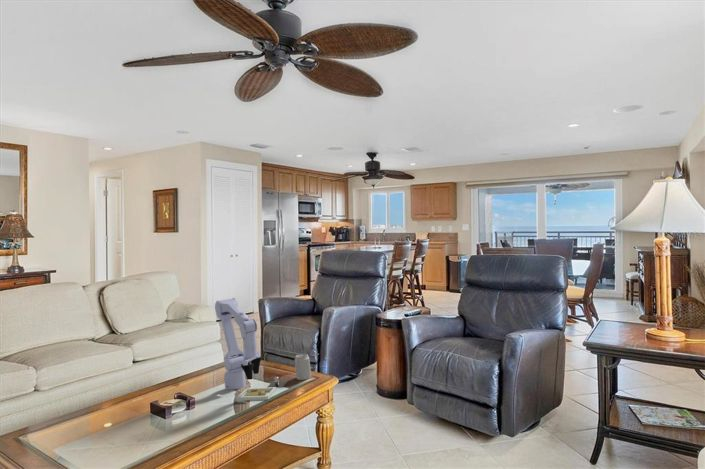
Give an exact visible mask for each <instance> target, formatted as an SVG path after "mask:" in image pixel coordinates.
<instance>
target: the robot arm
mask: <svg viewBox="0 0 705 469" xmlns="http://www.w3.org/2000/svg"><path fill="white" fill-rule="evenodd" d="M214 309H215V314H216V317H217V319H219V320H220V322H221V327H222V330H223V333H224V338H225V343H226V347H227V352H226V354H225V355H224V358H223V360H224V364H223V365H224V369H225V370H226V371H225V372H224V376H223V379H224V380H223V381H224V389H225V390H239V389H243V388H245V387H246V385H247V383H246V379H247V380H252V379H253V375H258V374H259V372H260V366H261V362H262V359H263V358H262V356H261V355H260V352H259V351H258V348H257V347H258V346H257V338H256V332H257V330H258V325H257V322H256V320H255V319H252V318H250V317H249V316H248V315H247V314H246V313H245V312H243V311H241V310H240V309H239V306H238V301H237V298H236V297H232V298H227V299H223V300H222V299H220V300H216V301H215V303H214ZM232 317H234V318H233V320H234V322H235V323H236V324H237V325H238V327H239V331H240V335H241V338H242V343H243V350H242V349H240V348H239V346H238V341H237V338H236V333H235V330H234V325H233V322H232V321H233V320H232Z"/></svg>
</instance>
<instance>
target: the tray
mask: <svg viewBox="0 0 705 469" xmlns="http://www.w3.org/2000/svg"><path fill="white" fill-rule="evenodd" d="M260 388H262V390H266V392H268V393H267V394H266V395H264V396H247V394H246V393H247V392H248V391H249V390H250V389H260ZM277 390H278V388H276V387H269V388H267V387H254V388H253V387H251V388H245V389H244V390H243V391H242V392H241V393H239V395H237V396H236V398H235V399H236V403H250V401H258V400H259V401H260V400H261V401H262V400H269V399H271V397H272V396H273V395H274V394H275V393H276V392H277Z"/></svg>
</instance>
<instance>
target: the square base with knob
mask: <svg viewBox="0 0 705 469" xmlns="http://www.w3.org/2000/svg"><path fill="white" fill-rule="evenodd" d="M273 379H274V381H272V382H271V383H270V384H269V385H267V387H266V388H269V387H276V388H277V389H278V388H283V387H284V386H285V385H286V384H287V383H288V381H279V376H274V378H273Z"/></svg>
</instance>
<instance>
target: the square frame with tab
mask: <svg viewBox="0 0 705 469" xmlns="http://www.w3.org/2000/svg"><path fill="white" fill-rule="evenodd" d="M259 388H260V389H250V390H249V391H248V392H247V393H246V394H245V395H246V396H264V395H267V391H266V390H262V388H263V387H259Z"/></svg>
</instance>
